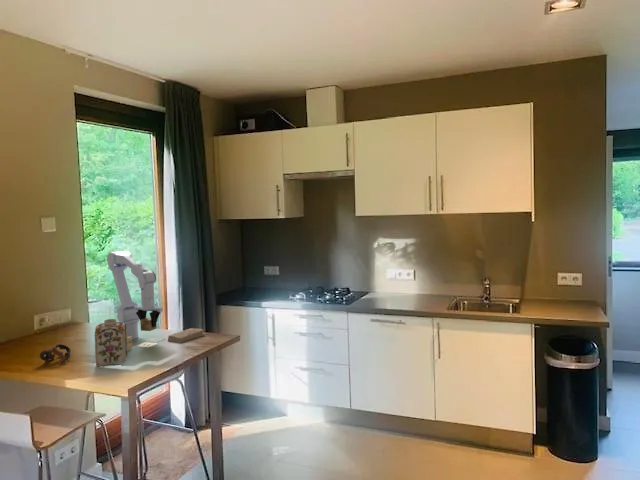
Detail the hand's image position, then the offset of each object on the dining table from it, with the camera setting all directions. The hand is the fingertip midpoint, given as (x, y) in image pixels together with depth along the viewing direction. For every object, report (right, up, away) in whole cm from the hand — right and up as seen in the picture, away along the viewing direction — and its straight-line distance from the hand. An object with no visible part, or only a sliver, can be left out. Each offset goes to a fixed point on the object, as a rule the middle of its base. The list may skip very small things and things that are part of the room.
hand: (148, 326), depth 240 cm
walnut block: (0, -1, 0) cm, 1 cm away
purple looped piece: (-33, -12, -22) cm, 41 cm away
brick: (+15, -9, +9) cm, 20 cm away
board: (-2, -10, -2) cm, 10 cm away
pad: (+1, -8, +5) cm, 9 cm away
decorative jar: (-8, -11, -23) cm, 26 cm away
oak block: (-8, -9, -8) cm, 14 cm away
